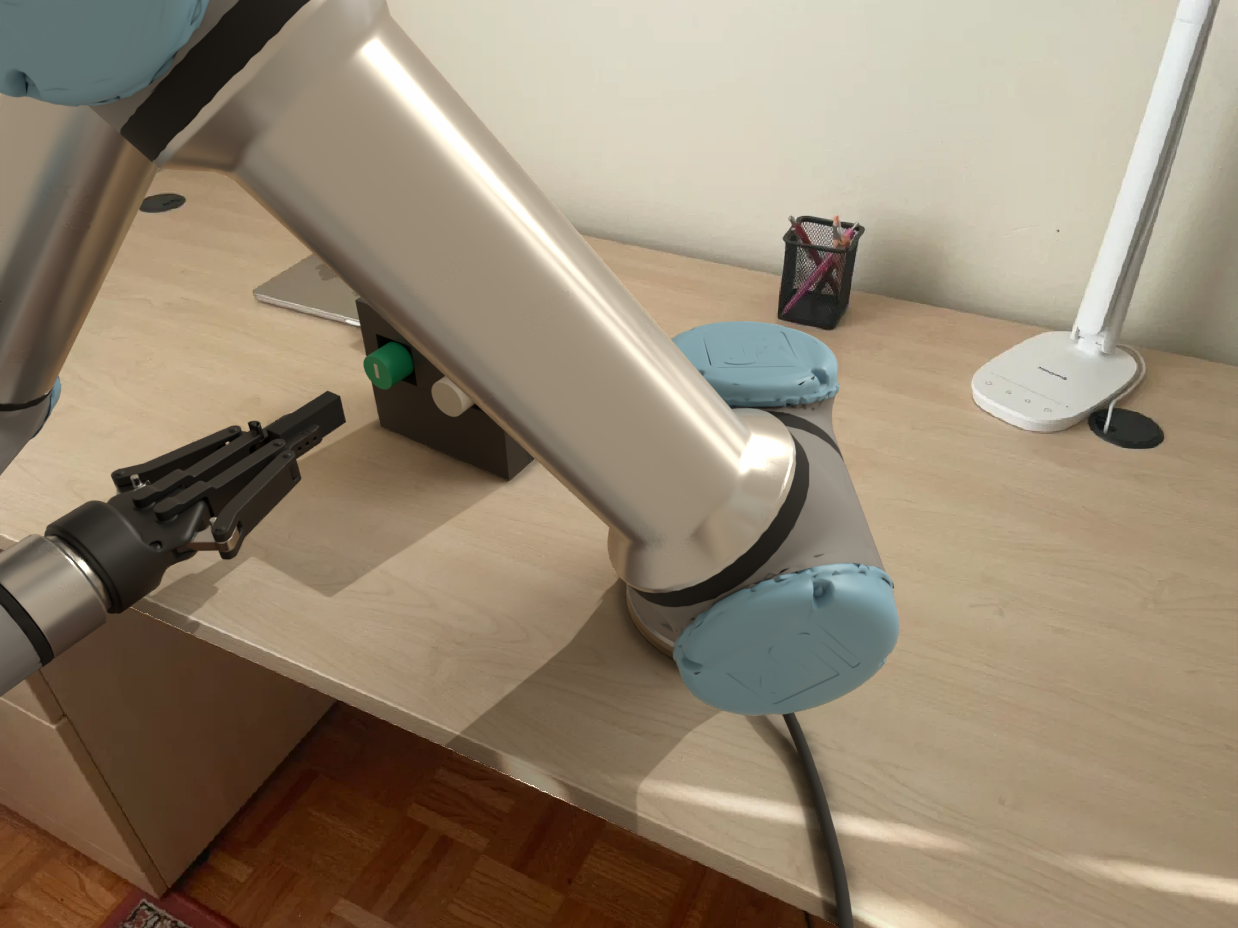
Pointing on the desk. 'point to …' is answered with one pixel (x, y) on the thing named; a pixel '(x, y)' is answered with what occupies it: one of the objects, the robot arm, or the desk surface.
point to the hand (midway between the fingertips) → (336, 406)
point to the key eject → (450, 398)
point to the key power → (388, 365)
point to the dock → (437, 410)
